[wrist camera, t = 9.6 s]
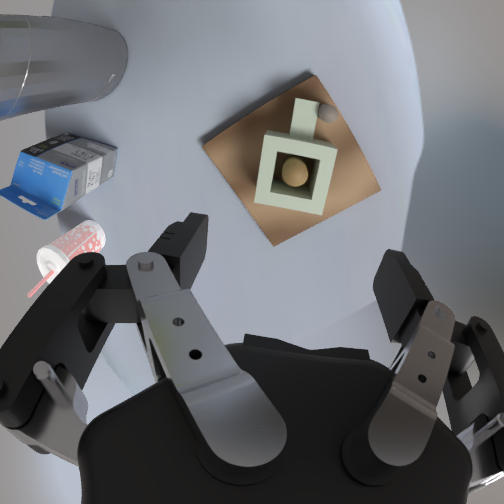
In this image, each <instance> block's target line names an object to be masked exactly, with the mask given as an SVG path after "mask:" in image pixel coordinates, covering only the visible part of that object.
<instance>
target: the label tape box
mask: <svg viewBox="0 0 504 504" xmlns="http://www.w3.org/2000/svg"><path fill="white" fill-rule="evenodd" d="M117 150H118V149H117V148H115V147H111V146H108V145H105V144H102V143H98V142H95V141H92V140H88V139H85V138H82V137H78V136H75V135H71V134H68V133H65V134H62V135H59V136H57V137H54V138H51V139H48V140H46V141H43V142H41V143H38V144H36V145H33V146H31V147H29V148H26V149H24V150H22V151H21V152H20V155H19V158H18V161H17V164H16V167H15V171H14V174H13V178H12V182H11V185H10V186H9V187H6V188H3V189H1V190H0V196H1V197H2V198H4V199H6V200H8V201H9V202H11V203H13V204H14V205H16V206H18V207H19V208H21V209H23V210H25V211H27V212H29V213H30V214H32V215H34V216H36V217H38V218H40V219H42V220H44V221H46V220H47V219H49V218H51V217H52V216H54V215H55V214H57V213H59V212H60V211H63V210H64V209H65V208H67V207H68V206H69V205H71V204H72V203H74V202H75V201H77V200H78V199H80V198H81V197H83V196H84V195H86V194H87V193H89V192H90V191H92V190H93V189H95V188H96V187H98V186H99V185H101V184H102V183H104V182H105V181H107V180H109V179H110V178H112V177H113V176H114V169H115V163H116V156H117ZM19 196H22V197H25V198H26V199H28V200H30V201H32V202H34V203H36V204H37V205H31V204H29V203H23V202H22V199H20V198H18V197H19Z"/></svg>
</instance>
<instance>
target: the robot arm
mask: <svg viewBox="0 0 504 504" xmlns="http://www.w3.org/2000/svg"><path fill="white" fill-rule="evenodd" d="M127 60H128V50H127V45H126V42H125V40H124V38H123V37H122V36H121V35H120V34H119V33H118V32H116V31H115V30H111V29H108V28H104V27H99V26H97V25H95V24H90V23H86V22H81V21H75V20H70V19H63V18H57V17H49V16H42V17H39V16H29V15H4V14H3V15H1V14H0V121H2V120H5V119H9V118H12V117H16V116H19V115H23V114H27V113H32V112H36V111H40V110H45V109H50V108H55V107H60V106H65V105H71V104H77V103H84V102H91V101H96V100H99V99H102V98H103V97H105V96H107V95H108V94H109V93H110V92H112V91H113V90H114V88H115V87H116V86H117V85H118V84H119V82H120V80H121V78H122V77H123V74H124V72H125V69H126V65H127ZM207 233H208V215H205V214H198V213H192V212H191V213H190V214H189V215H188V216H187V218H186V219H185V220H184V222H178V221H177V222H175V223H173V224H171V225H169V226H168V227H167V228H166V230H165V231H164V233H162V234H161V236H160V238H158V239H157V241H156V242H155V243H154V244H153V246H152V247H151V248H150V249H149V251H148V252H141V253H137V254H135V255H133V256H131V257H130V258H129V259H128V260H127V262H126V265H106V264H105V259H104V257H103V255H101V254H99V253H96V252H85V253H81V254H79V255H77V256H75V257H74V258H72V259H71V260H70V261H69V263H68V264H67V265H66V266H65V267H64V268H63V269H62V270H61V271H60V273H59V274H58V275H57V276H56V277H55V278H54V279H53V281H52V282H51V283H50V284H49V285H48V286H47V288H46V289H45V290H44V291H43V292H42V294H41V295H40V296H39V297H38V299H37V300H36V301H35V302H34V304H33V305H32V306H31V307H30V309H29V310H28V311H27V312H26V314H25V315H24V316H23V318H22V319H21V321H20V322H19V323H18V325H17V326H16V327H15V329H14V330H13V331H12V333H11V334H10V335H9V337H8V338H7V340H6V341H5V343H4V344H3V346H2V347H1V349H0V424H1V425H2V426H3V427H5V428H6V429H7V430H8V431H9V432H10V433H11V434H13V435H14V436H15V437H16V438H17V439H19V440H20V441H21V442H23V443H25V444H27V445H28V446H29V447H30V448H32V449H33V450H34V451H36V452H38V453H40V454H49V453H52V454H54V455H56V456H58V457H60V458H62V459H64V460H66V461H68V462H70V463H72V464H74V465H76V466H79V470H80V476H81V485H82V500H81V504H466V502H467V496H468V493H474V492H476V491H478V490H480V489H482V488H484V487H486V486H488V485H490V484H491V483H493V482H495V481H497V480H499V479H500V478H502V477H504V352H503V350H502V348H501V346H500V344H499V342H498V340H497V338H496V336H495V334H494V332H493V331H492V329H491V327H490V326H489V324H488V323H487V322H486V321H484V320H483V319H481V318H479V317H476V316H473V317H471V318H470V320H469V322H468V323H467V324H466V325H465V324H462V323H460V322H457V321H455V315H454V313H453V311H452V310H451V309H450V308H449V307H448V306H447V305H445V304H444V303H442V302H440V301H435V300H434V298H433V296H432V295H431V293H430V291H429V289H428V288H427V286H426V285H425V282H424V281H423V280H422V277H421V276H420V274H419V272H418V271H417V270H416V269H415V268H414V267H413V266H412V265H411V264H410V262H409V261H408V259H407V257H406V256H405V254H404V253H403V252H400V251H396V250H391V249H388V250H386V252H385V254H384V256H383V259H382V261H381V263H380V266H379V268H378V271H377V273H376V275H375V278H374V282H373V291H374V294H375V296H376V299H377V302H378V305H379V308H380V311H381V314H382V317H383V320H384V323H385V326H386V329H387V333H388V336H389V339H390V342H391V343H402V346H401V347H400V349H399V350H398V352H397V354H396V355H395V357H394V359H393V361H392V362H391V364H390V366H389V367H388V368H387V367H386V366H384V365H382V364H380V363H378V362H376V361H374V360H371V359H370V357H369V353H368V350H365V349H354V348H344V347H338V348H329V349H318V350H308V349H305V348H302V347H299V346H296V345H293V344H290V343H287V342H284V341H282V340H279V339H274V338H268V337H262V336H256V335H250V334H245V336H244V341H243V343H234V344H227V345H224V344H223V342H222V341H221V339H220V338H219V336H218V335H217V333H216V331H215V330H214V328H213V327H212V325H211V323H210V322H209V320H208V319H207V317H206V315H205V314H204V312H203V310H202V309H201V307H200V305H199V304H198V302H197V300H196V299H195V297H194V295H193V294H192V292H191V291H190V289H191V287H192V285H193V282H194V280H195V278H196V276H197V274H198V272H199V269H200V267H201V265H202V263H203V261H204V258H205V254H206V247H207ZM115 323H136V327H137V330H138V333H139V336H140V338H141V341H142V344H143V347H144V350H145V352H146V355H147V358H148V360H149V363H150V367H151V370H152V373H153V376H154V379H155V382H156V383H155V384H153V385H152V386H150V387H148V388H146V389H145V390H143V391H141V392H140V393H138V394H136V395H134V396H133V397H131V398H129V399H127V400H125V401H124V402H122V403H120V404H118V405H116V406H115V407H113V408H111V409H109V410H107V411H105V412H104V413H102V414H100V415H99V416H97V417H96V418H94V419H93V420H92V421H91V422H90V423H89V424H88V425H87V423H86V415H87V410H88V402H87V399H86V397H85V395H84V394H83V392H82V389H83V387H84V385H85V383H86V381H87V379H88V376H89V374H90V372H91V370H92V368H93V366H94V364H95V362H96V360H97V358H98V356H99V354H100V352H101V350H102V348H103V346H104V344H105V342H106V340H107V338H108V336H109V334H110V332H111V331H112V329H113V327H114V325H115ZM474 361H476V363H477V366H478V369H479V372H480V377H479V380H478V382H477V384H476V385H475V386H474V387H473V388H472V386H471V383H470V380H469V377H468V374H467V372H466V370H467V369H468V368H469V367H470V365H471V364H472V363H473V362H474ZM442 391H443V394H444V398H445V402H446V406H447V411H448V415H449V420H450V424H451V429H452V431H451V430H450V429H449V428H448V427H447V426H446V425H445V424H444V423H443V422H442V421H441V420H440V419H439V418H438V417H437V412H436V407H437V404H438V401H439V398H440V396H441V393H442Z"/></svg>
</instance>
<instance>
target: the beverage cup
mask: <svg viewBox="0 0 504 504" xmlns="http://www.w3.org/2000/svg"><path fill="white" fill-rule="evenodd" d="M105 240H106V239H105V234H104V232H103V230H102V228H101V227H100V226H99V225H98V224H97V223H96V222H94V221H92V220H86V221H84V222H82V223H81V224H79V225H78V226H76V227H75V228H73V229H72V230H70V231H69V232H67V233H66V234H64V235H63V236H61V237H60V238H58V239H57V240H56V241H54V242H53V243H51V244H50V245H46V246H44V247H43V248H41V249H40V250H39V251H38V253H37V264H38V267H39V270H40V272H41V274H42V275H43V277H44V278H43V279H42V280H41V281H40V282H39V283H38V284H37V285H36V286H35V287H34V288H33V289H32V290H31V291H30V292H29V293H28V294H27V296H28V297H29V298H30V297H31V296H32V295H33V294H34V293H35V292H36V291H37V290H38V288H40V287H41V286H42V284H43V283H44V282H45V281H47V282H48V283H49V284H50V283H51V282H52V281H53V279H54V278H55V277H56V276H57V275H58V274H59V273H60V271H61V270H62V269H63V268H64V267H65V266H66V265H67V264H68V263H69V261H70V260H71V259H72V258H74V257H75V256H77V255H79V254H81V253H85V252H96V253H98V252H99V251H100V250H101V249H102V247H103V246H104V245H105Z"/></svg>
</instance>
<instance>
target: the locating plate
mask: <svg viewBox="0 0 504 504" xmlns="http://www.w3.org/2000/svg"><path fill="white" fill-rule="evenodd" d="M295 98H299V99H304V100H309V101H314V102H318V103H319V108H318V114H317V119H316V125H315V130H314V135H313V139H318V140H322V141H327V142H331V143H332V144H333V145H334V146H335V147H336V148H337V149H338V150H337V154H336V159H335V163H334V168H333V172H332V176H331V181H330V185H329V189H328V193H327V197H326V201H325V205H324V209H323V213H322V215H317V214H312V213H307V212H302V211H297V210H292V209H287V208H281V207H276V206H270V205H265V204H259V203H254V200H255V193H256V187H257V180H258V173H259V167H260V160H261V154H262V147H263V141H264V135H265V133H266V132H267V131H268V130H271V131H277V132H282V133H288V134H289V132H290V126H291V120H292V114H293V109H294V103H295ZM202 147H203V149H204V150H205V152H206V153H207V154H208V156H209V157H210V158H211V160H212V161H213V162H214V164H215V165H216V167H217V168H218V169H219V171H220V172H221V173H222V175H223V176H224V178H225V179H226V180H227V182H228V183H229V185H230V186H231V187H232V189H233V190H234V191H235V193H236V194H237V196H238V197H239V198H240V200H241V201H242V203H243V204H244V205H245V207H246V208H247V210H248V211H249V212H250V214H251V215H252V217H253V218H254V220H255V221H256V222H257V224H258V225H259V227H260V228H261V229H262V231H263V232H264V234H265V235H266V237H267V238H268V239H269V241H270V242H271V244H272V245H273V247H274V246H276V245H278V244H280V243H282V242H284V241H285V240H287V239H289V238H291V237H293V236H295V235H297V234H299V233H301V232H303V231H305V230H306V229H308V228H310V227H312V226H314V225H316V224H318V223H320V222H322V221H324V220H326V219H328V218H329V217H331V216H333V215H335V214H337V213H339V212H341V211H343V210H345V209H347V208H348V207H350V206H352V205H354V204H356V203H358V202H360V201H362V200H364V199H366V198H367V197H369V196H371V195H373V194H375V193H377V192H379V191H381V189H380V187H379V184H378V182H377V180H376V178H375V176H374V174H373V172H372V170H371V168H370V166H369V164H368V162H367V160H366V158H365V156H364V154H363V152H362V150H361V148H360V147H359V145H358V143H357V141H356V139H355V137H354V136H353V134H352V132H351V130H350V129H349V127H348V125H347V123H346V122H345V120H344V118H343V116H342V115H341V113H340V111H339V110H338V108H337V107H336V105H335V103H334V102H333V100H332V99H331V97H330V95H329V94H328V92H327V91H326V89H325V88H324V86H323V85H322V83H321V82H320V80H319V79H318V77H317V76H316V75H315V76H313V77H311V78H309V79H307V80H305V81H304V82H302V83H300V84H298V85H296V86H295V87H293V88H291V89H289V90H288V91H286V92H284V93H282V94H281V95H279V96H277V97H276V98H274V99H272V100H271V101H269V102H267V103H266V104H264V105H263V106H261V107H259V108H258V109H256V110H255V111H253V112H251V113H250V114H248V115H247V116H245V117H244V118H242V119H241V120H239V121H238V122H236V123H235V124H233V125H232V126H230V127H229V128H227V129H226V130H224V131H223V132H222V133H220V134H219V135H217V136H216V137H214V138H213V139H212V140H210V141H209V142H207V143H206V144H205V145H203V146H202ZM314 160H315V159H314V158H309V157H305V156H299V155H294V154H289V153H284V152H278V151H277V157H276V163H275V169H274V175H273V180H278V181H283V182H286V183H287V184H288V185H290V186H293V187H297V186H301V185H304V186H309V183H310V179H311V174H312V169H313V164H314Z"/></svg>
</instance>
